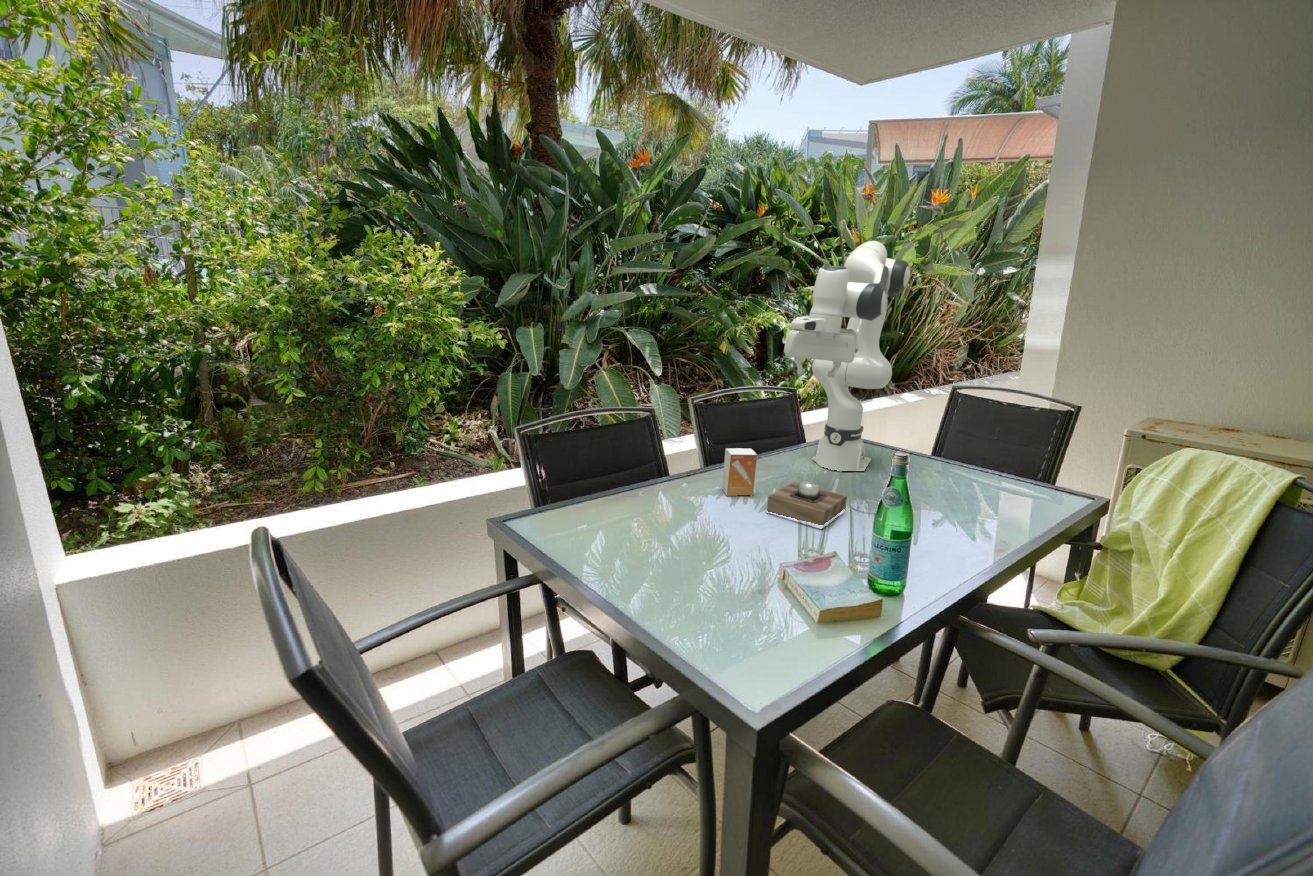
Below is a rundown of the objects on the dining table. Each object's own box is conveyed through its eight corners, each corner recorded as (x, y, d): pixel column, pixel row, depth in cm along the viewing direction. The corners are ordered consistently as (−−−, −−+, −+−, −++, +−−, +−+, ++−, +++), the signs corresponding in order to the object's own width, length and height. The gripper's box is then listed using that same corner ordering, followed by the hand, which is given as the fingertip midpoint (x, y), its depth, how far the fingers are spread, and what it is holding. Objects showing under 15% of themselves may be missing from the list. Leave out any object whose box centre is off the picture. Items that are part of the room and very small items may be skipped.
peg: (803, 494, 173) (805, 479, 171) (820, 499, 170) (822, 483, 169) (795, 499, 169) (797, 483, 168) (812, 504, 166) (814, 488, 165)
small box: (726, 496, 180) (730, 454, 176) (721, 488, 186) (725, 447, 182) (753, 496, 181) (757, 454, 177) (747, 488, 187) (751, 447, 183)
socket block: (792, 497, 181) (794, 481, 180) (844, 512, 172) (847, 495, 171) (766, 513, 169) (768, 495, 167) (821, 530, 160) (824, 511, 158)
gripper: (851, 329, 174) (843, 377, 177) (785, 321, 169) (778, 371, 172) (864, 330, 168) (854, 380, 171) (796, 322, 163) (787, 374, 166)
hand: (815, 376), depth 171 cm, fingers open, 8 cm apart
